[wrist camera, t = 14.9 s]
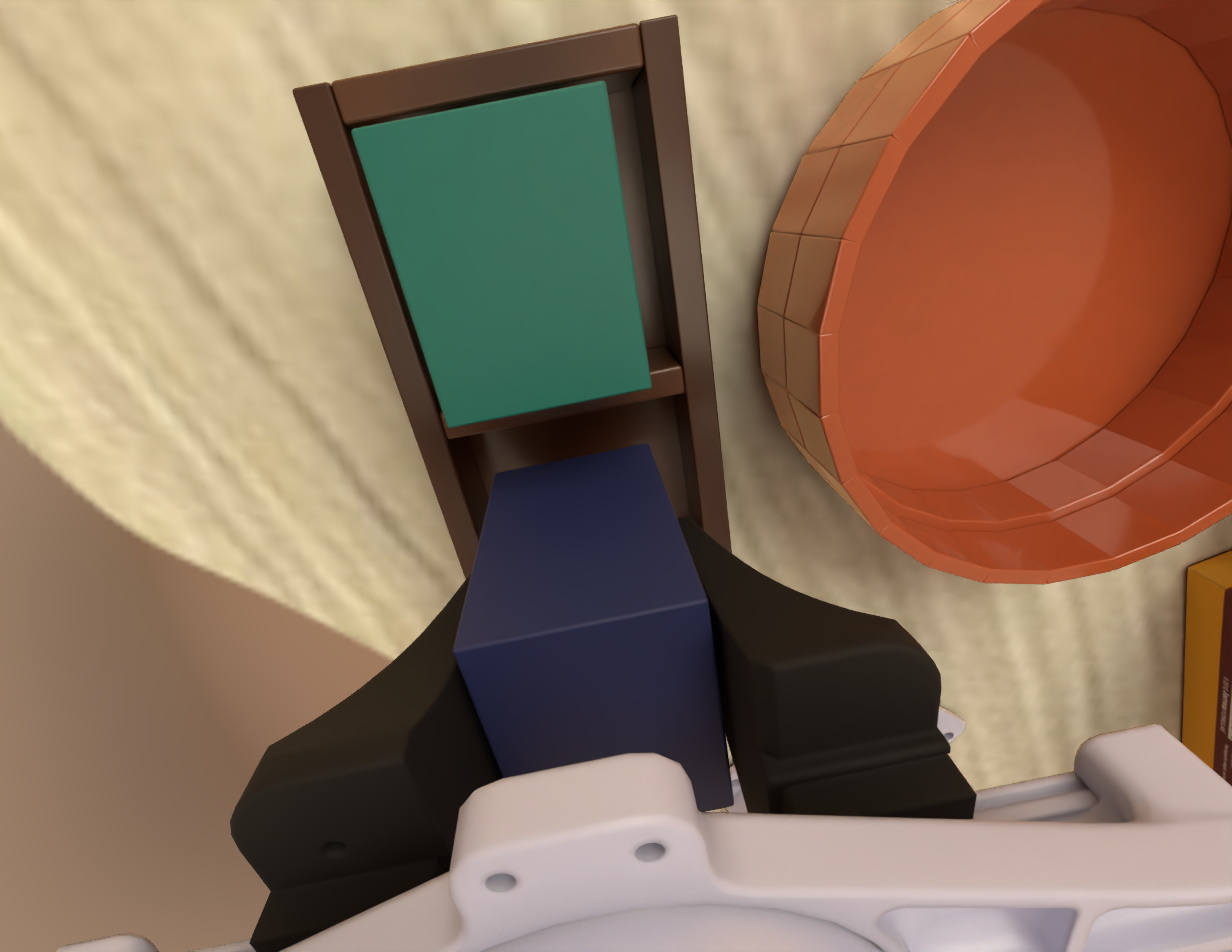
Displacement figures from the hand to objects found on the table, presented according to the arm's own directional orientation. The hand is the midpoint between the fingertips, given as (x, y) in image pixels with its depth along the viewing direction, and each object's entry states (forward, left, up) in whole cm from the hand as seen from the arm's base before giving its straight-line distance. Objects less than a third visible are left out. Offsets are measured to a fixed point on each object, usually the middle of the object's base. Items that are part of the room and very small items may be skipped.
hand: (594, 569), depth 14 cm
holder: (+3, +2, -6) cm, 7 cm away
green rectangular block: (+5, +5, -5) cm, 9 cm away
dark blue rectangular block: (0, 0, -1) cm, 1 cm away
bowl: (+12, -8, -6) cm, 15 cm away
